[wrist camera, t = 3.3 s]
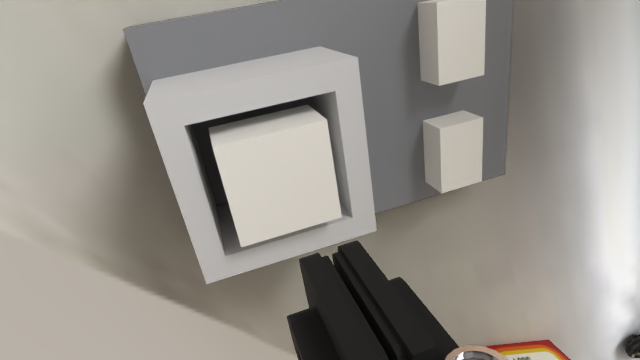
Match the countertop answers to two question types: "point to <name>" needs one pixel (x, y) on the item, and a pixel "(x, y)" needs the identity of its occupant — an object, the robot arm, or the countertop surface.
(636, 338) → the milk frother
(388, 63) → the breaker panel
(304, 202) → the white cube insert
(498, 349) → the baking soda box
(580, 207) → the countertop surface
